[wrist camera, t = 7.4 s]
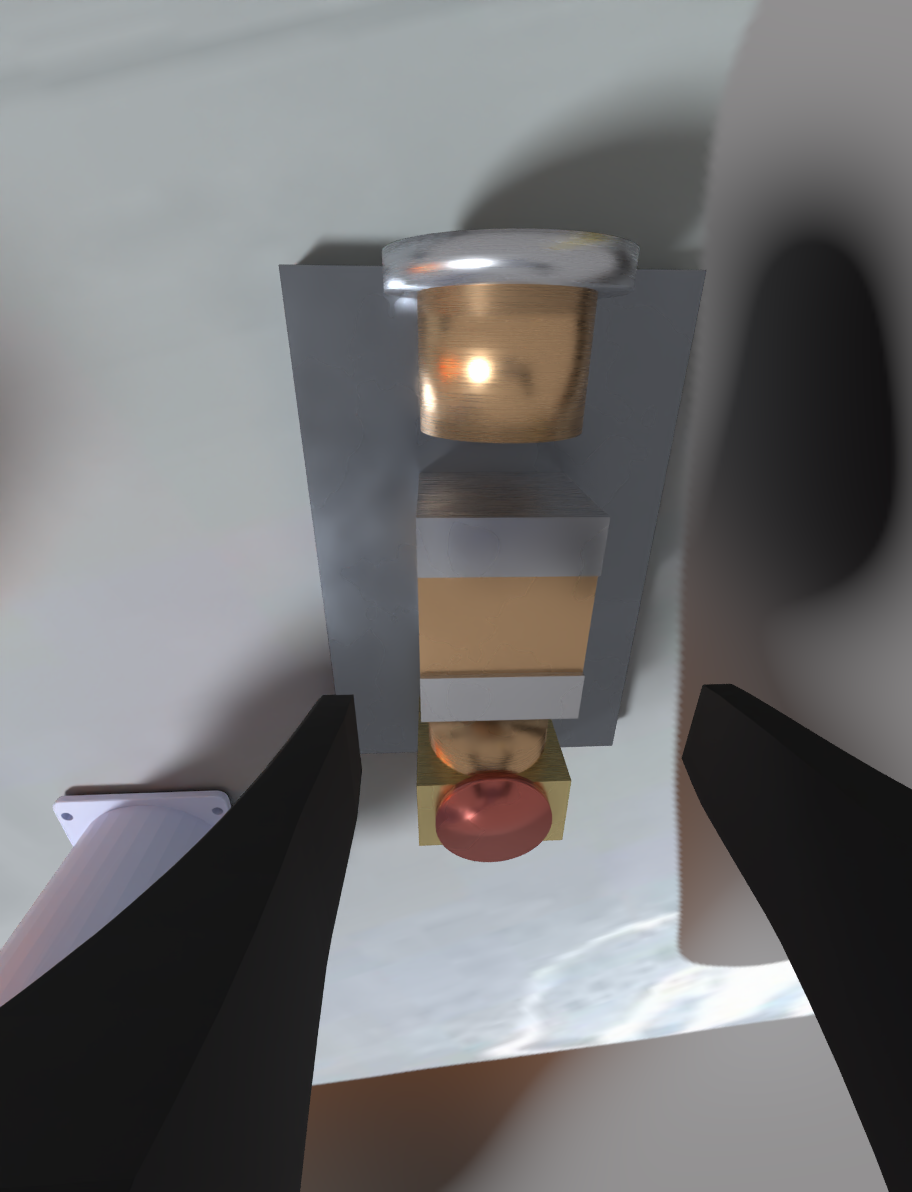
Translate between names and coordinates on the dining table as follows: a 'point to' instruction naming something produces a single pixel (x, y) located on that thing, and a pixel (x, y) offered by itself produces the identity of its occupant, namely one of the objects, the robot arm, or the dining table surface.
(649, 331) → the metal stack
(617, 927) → the dining table surface
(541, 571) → the block
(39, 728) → the dining table surface
